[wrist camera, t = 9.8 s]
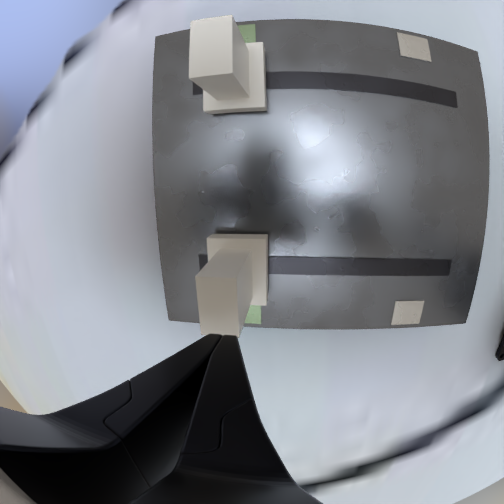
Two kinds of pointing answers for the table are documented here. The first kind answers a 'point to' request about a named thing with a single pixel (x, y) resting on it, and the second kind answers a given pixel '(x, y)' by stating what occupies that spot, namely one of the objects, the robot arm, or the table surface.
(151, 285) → the table surface
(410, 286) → the board
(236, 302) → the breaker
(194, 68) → the block
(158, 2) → the table surface
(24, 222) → the table surface
